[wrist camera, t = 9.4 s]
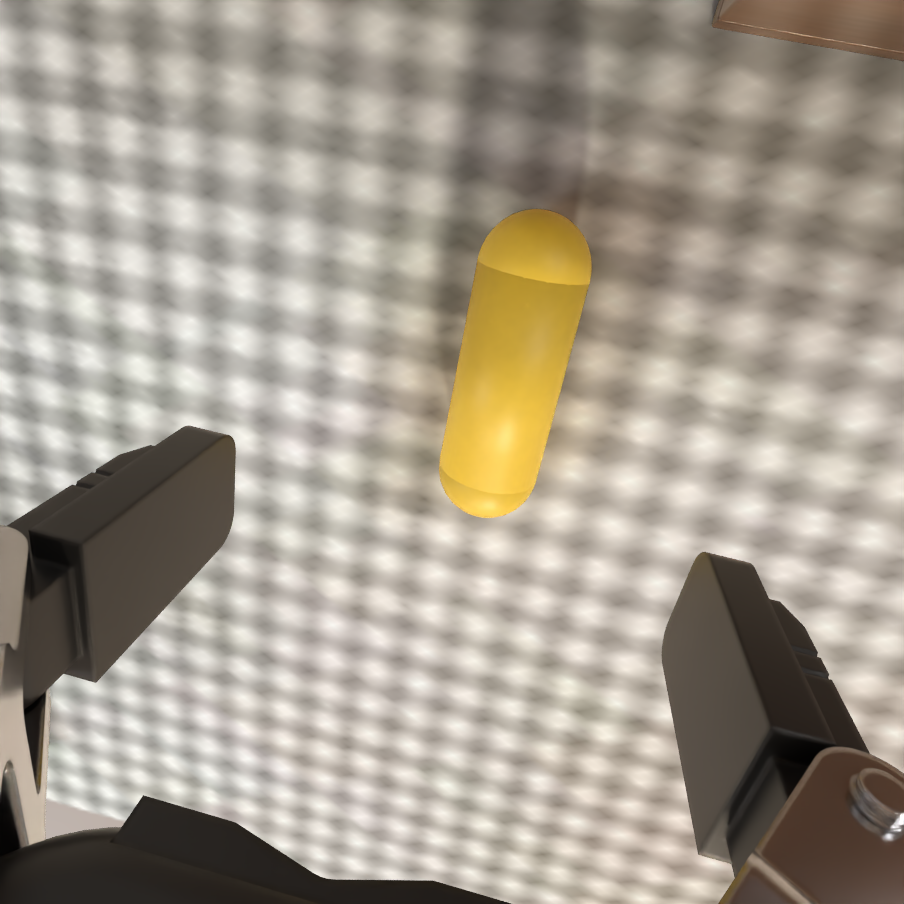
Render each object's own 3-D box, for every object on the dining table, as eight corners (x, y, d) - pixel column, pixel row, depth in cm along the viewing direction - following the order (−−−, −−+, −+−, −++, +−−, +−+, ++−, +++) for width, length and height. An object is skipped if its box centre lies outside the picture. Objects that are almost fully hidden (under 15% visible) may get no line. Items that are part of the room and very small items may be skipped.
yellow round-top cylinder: (490, 195, 18) (487, 202, 15) (597, 216, 18) (615, 227, 15) (436, 478, 22) (426, 526, 20) (523, 495, 22) (526, 545, 20)
